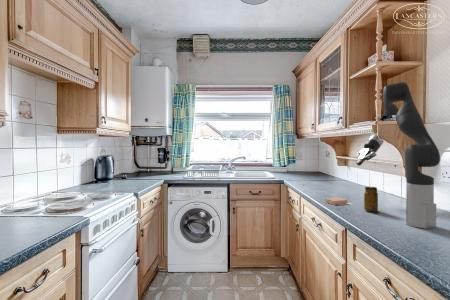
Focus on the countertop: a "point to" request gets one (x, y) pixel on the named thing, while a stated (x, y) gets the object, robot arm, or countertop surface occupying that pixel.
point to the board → (345, 204)
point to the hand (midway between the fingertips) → (358, 164)
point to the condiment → (371, 200)
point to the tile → (336, 201)
